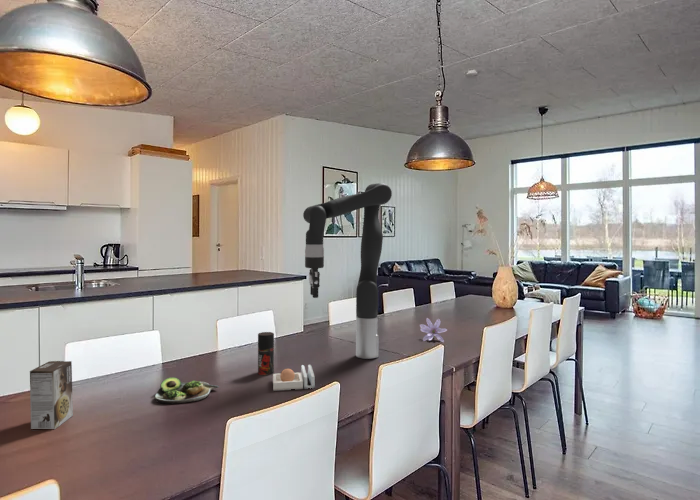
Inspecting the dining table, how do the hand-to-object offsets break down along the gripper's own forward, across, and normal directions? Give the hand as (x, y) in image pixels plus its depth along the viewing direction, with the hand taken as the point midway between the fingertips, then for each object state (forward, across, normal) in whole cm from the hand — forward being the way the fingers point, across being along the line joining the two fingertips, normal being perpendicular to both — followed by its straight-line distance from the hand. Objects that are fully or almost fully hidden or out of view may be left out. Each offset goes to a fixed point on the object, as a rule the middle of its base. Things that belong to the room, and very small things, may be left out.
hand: (314, 296), depth 174 cm
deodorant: (+28, -6, +19) cm, 35 cm away
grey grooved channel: (+28, -19, +4) cm, 34 cm away
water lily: (+28, +34, -64) cm, 77 cm away
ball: (+27, -21, +12) cm, 36 cm away
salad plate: (+29, -24, +46) cm, 59 cm away
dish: (+28, -21, +12) cm, 37 cm away
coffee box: (+28, -41, +77) cm, 92 cm away
